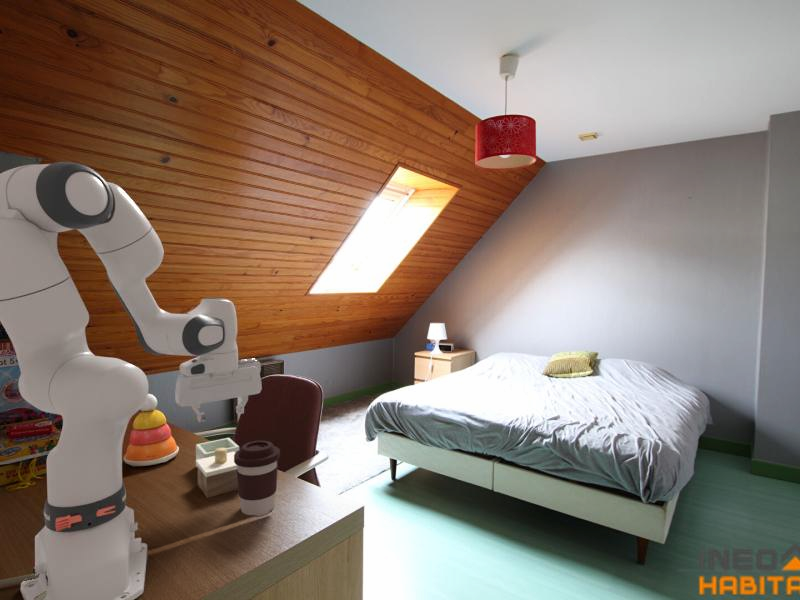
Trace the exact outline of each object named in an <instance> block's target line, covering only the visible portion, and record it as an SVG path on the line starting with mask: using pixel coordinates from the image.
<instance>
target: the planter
mask: <svg viewBox="0 0 800 600" xmlns="http://www.w3.org/2000/svg"><path fill="white" fill-rule="evenodd" d="M218 448H227V453H229V452H235V453H236V452H237V451H239V450H240V446H239V445H238V444H237V443H236V442H235V441H234V440H233V439H231V438H230V437H226V438H220V439H215V440H211V441H206V442H202V443H197V444H196V443H195V461H196V460H198V459H203V458H207V457H212V456H215V449H218ZM195 467H196V468H197V465H196V464H195Z"/></svg>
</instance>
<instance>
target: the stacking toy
mask: <svg viewBox="0 0 800 600" xmlns="http://www.w3.org/2000/svg"><path fill="white" fill-rule="evenodd" d="M157 407H158V400H157V397H156V396H155V395H153V394H152V393H148V395H147V398H146V400H145V402H144V404H143V406H142V407H141V408H140V409H139V410H141V412H140V413H138V415H136V417H135V418H134V421H133V424H132V428H133V429H132V430H131V432H130V435H129V444H128V446H127V448H126V453H125V454H124V456H123V461H124V463H125V464H127V465H129V466H131V467H145V466H146V467H147V466H152V465H153V466H155V465H158V464H161V463H162V464H163V463H166V462H168V461H170V460H171V459H173V458H174V457H176V456H177V455H178V453H179V450H180V447H179V446H178V445H177V443H176V440H175V439H174V437H173V436H172V430H171V428H170V426H169V424H168V423H167V418H166V416H165V414H164V413H163V412H162V411H160V410H158V409H156V408H157Z"/></svg>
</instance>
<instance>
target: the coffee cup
mask: <svg viewBox="0 0 800 600" xmlns="http://www.w3.org/2000/svg"><path fill="white" fill-rule="evenodd" d="M280 457H281V450H280V448H279V447H277V446H275V445H274V444H273V442H271V441H268V440H254V441H250V442H246V443H244V444H243V445H241V448H239V451H237V452H236V453H235V455H234V463H235V464H236V465H237V468H238V469H237V481H238V490H237V491H238V492H237V493H238V496H239V500H240V501H239V502H240V512H242V513H243V514H244V515H248V516H252V518H260V517H264V516H266V515H268V514H270V513H271V512H273V510H272V509H274V507H275V503H276V491H277V486H278V485H277V484H278V483H277V482H278V468H279V467H278V466H279V465H278V460H280Z"/></svg>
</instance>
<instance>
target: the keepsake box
mask: <svg viewBox="0 0 800 600" xmlns="http://www.w3.org/2000/svg"><path fill="white" fill-rule="evenodd" d="M196 469H197V485H198V487H199V489H200V490H201V491H202V493H203V494H204V495H205V497H206V498H207V499H209V498H212V497H215V496H219V495H222V494H223V495H224V494H226V493H230V492H234V491H238V481H237V469H236V470H232V471H228V472H224V473H220V474H216V475H212V476H208V477H206V476H205V475H204V474H203V473H202V471H201V470H200V469H199V467H198V466H197V467H196Z"/></svg>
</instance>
